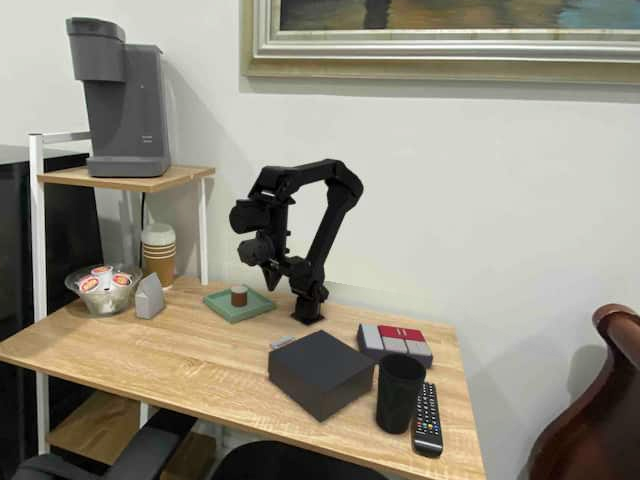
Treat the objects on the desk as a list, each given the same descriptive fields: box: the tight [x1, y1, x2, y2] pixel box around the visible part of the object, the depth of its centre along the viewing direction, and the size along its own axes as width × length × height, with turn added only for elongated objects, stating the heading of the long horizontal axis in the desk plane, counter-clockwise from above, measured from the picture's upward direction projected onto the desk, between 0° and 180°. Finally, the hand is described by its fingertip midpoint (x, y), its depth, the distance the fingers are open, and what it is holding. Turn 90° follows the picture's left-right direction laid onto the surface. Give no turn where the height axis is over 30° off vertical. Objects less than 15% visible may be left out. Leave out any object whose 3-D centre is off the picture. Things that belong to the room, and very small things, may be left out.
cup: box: [375, 353, 428, 435], centre depth 67 cm, size 8×8×12 cm
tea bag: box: [134, 271, 165, 320], centre depth 100 cm, size 4×7×10 cm, turn 164°
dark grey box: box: [268, 328, 377, 423], centre depth 77 cm, size 15×15×7 cm
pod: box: [230, 284, 248, 307], centre depth 107 cm, size 4×4×4 cm
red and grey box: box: [356, 323, 434, 370], centre depth 90 cm, size 11×4×15 cm
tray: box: [202, 283, 276, 324], centre depth 108 cm, size 14×14×2 cm
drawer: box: [267, 331, 316, 373], centre depth 80 cm, size 18×13×5 cm
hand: (271, 291), depth 90 cm, fingers closed
